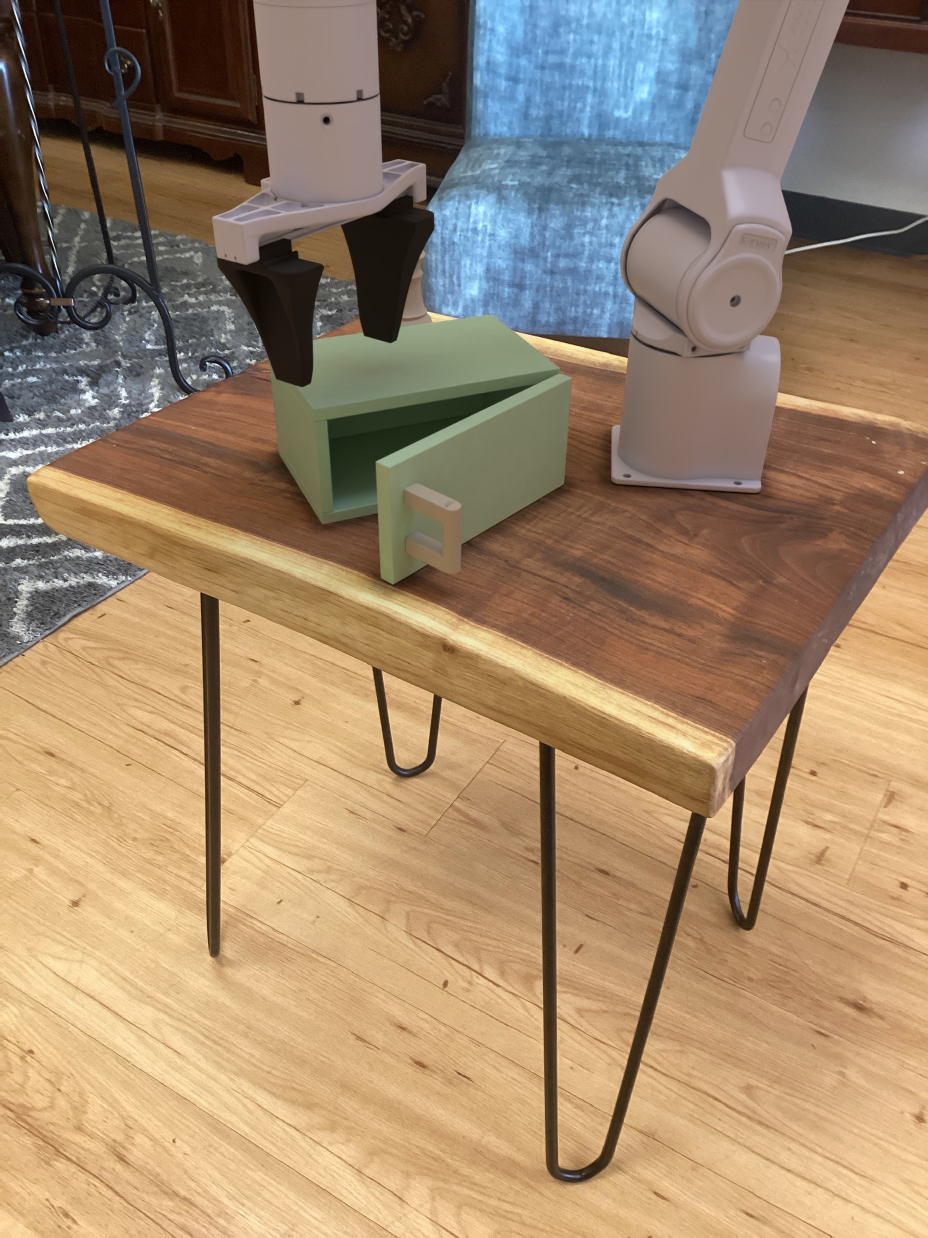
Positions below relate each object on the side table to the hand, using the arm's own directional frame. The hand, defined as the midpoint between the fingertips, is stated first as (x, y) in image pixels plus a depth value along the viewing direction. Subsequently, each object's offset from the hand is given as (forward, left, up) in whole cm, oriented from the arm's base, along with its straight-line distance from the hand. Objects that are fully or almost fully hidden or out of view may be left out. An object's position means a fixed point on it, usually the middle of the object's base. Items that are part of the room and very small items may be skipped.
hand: (338, 358), depth 59 cm
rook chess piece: (+1, -28, -10) cm, 29 cm away
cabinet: (-3, -6, -10) cm, 12 cm away
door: (-10, +3, -9) cm, 14 cm away
